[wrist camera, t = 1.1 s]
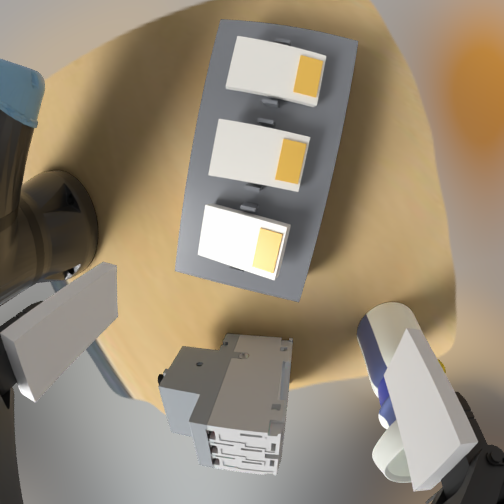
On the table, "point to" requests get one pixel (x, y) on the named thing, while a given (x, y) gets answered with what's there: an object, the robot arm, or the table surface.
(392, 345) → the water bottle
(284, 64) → the rocker
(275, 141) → the block
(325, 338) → the table surface
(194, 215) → the panel
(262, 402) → the circuit breaker
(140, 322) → the table surface
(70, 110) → the table surface
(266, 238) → the rocker
